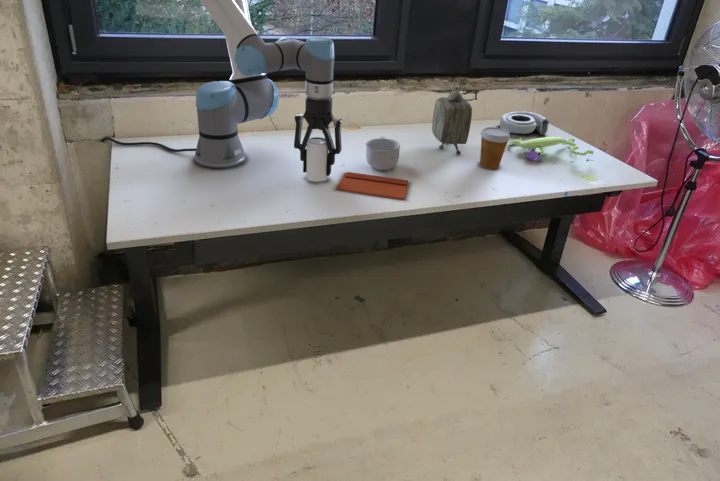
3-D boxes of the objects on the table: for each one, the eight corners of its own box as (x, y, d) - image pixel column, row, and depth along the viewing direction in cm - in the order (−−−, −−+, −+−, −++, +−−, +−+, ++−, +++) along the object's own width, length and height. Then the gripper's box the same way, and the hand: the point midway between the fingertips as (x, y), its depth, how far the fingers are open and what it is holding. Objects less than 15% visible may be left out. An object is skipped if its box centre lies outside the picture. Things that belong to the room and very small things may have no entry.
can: (311, 184, 159) (312, 145, 153) (303, 175, 164) (303, 138, 158) (331, 180, 162) (332, 143, 156) (322, 172, 167) (323, 135, 161)
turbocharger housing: (492, 126, 221) (509, 139, 209) (494, 110, 218) (511, 123, 205) (530, 123, 224) (548, 135, 212) (532, 107, 221) (551, 119, 209)
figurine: (593, 167, 187) (598, 152, 184) (516, 161, 187) (520, 146, 184) (577, 147, 202) (581, 133, 200) (506, 142, 202) (509, 127, 200)
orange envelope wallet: (336, 190, 157) (336, 187, 157) (344, 174, 168) (344, 171, 167) (403, 199, 155) (404, 196, 154) (408, 182, 165) (408, 180, 165)
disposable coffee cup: (506, 164, 184) (513, 130, 178) (500, 173, 176) (507, 138, 170) (478, 158, 187) (485, 124, 181) (471, 167, 179) (478, 132, 173)
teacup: (394, 175, 169) (397, 151, 165) (361, 170, 170) (363, 147, 166) (400, 159, 181) (403, 136, 177) (369, 155, 182) (371, 132, 178)
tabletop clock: (464, 157, 186) (477, 85, 174) (439, 157, 185) (450, 84, 172) (452, 142, 199) (463, 73, 186) (428, 141, 197) (438, 72, 184)
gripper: (281, 96, 149) (282, 172, 160) (350, 104, 146) (346, 181, 158) (289, 89, 155) (289, 163, 167) (355, 97, 152) (351, 172, 164)
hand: (317, 172), depth 162 cm, fingers closed on can, 6 cm apart
